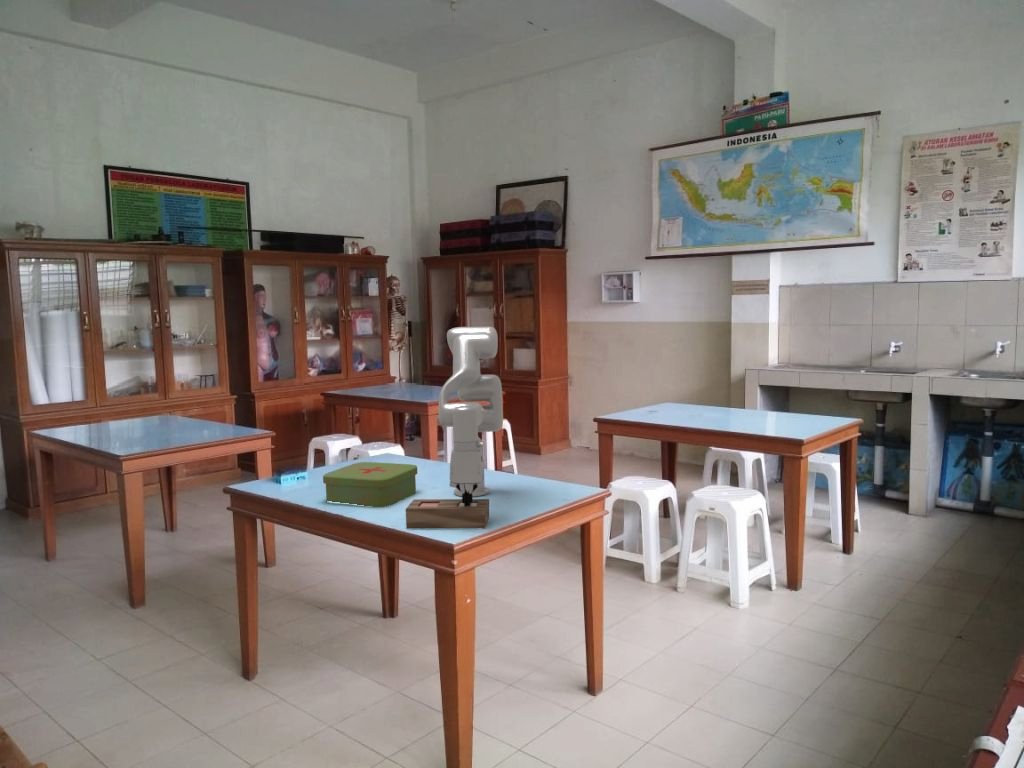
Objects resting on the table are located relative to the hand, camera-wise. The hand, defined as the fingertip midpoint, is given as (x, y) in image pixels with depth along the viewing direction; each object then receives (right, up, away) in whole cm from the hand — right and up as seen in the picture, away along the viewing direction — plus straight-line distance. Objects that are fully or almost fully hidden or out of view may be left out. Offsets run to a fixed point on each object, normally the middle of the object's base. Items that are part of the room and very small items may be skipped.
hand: (467, 505), depth 233 cm
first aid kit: (-36, -4, +38) cm, 52 cm away
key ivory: (0, -4, +1) cm, 5 cm away
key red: (-12, -5, +2) cm, 13 cm away
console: (-6, -6, +1) cm, 8 cm away
